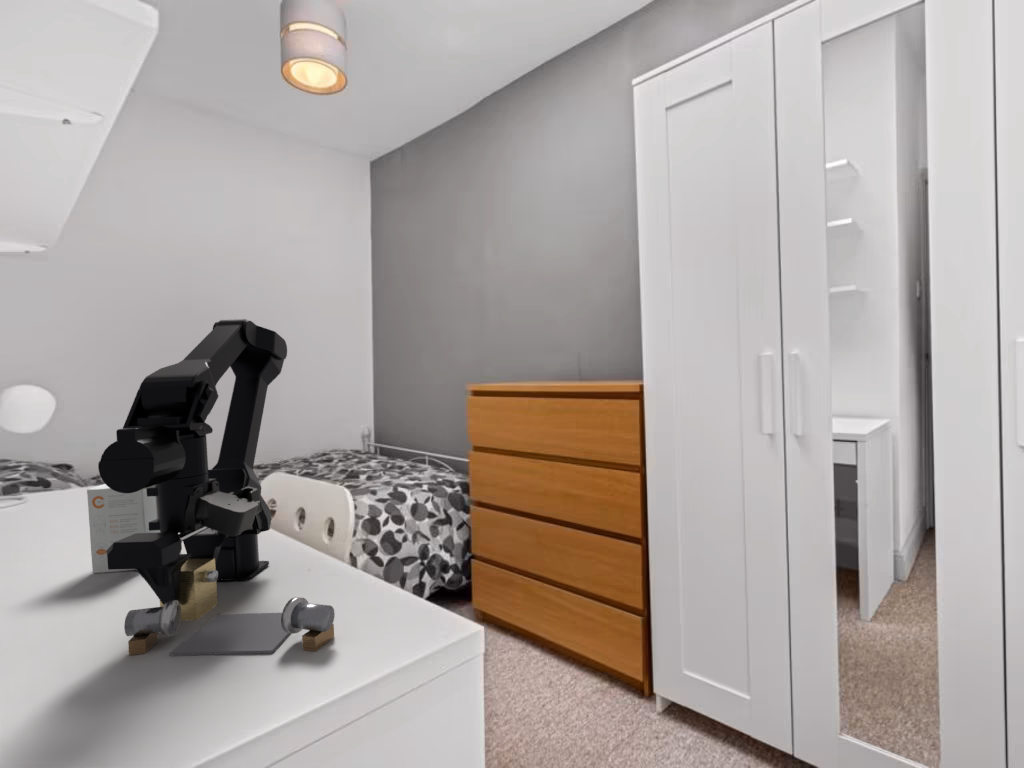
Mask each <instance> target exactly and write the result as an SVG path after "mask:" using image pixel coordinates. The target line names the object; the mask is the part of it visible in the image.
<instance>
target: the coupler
mask: <svg viewBox="0 0 1024 768" xmlns="http://www.w3.org/2000/svg"><path fill="white" fill-rule="evenodd" d="M217 578H218V571H217V570H216V567H215V558H205V559H188V560H187V561H186V562H185V563H184V564H183V566H182V567H181V582H180V602H179V603H180V606H181V621H197V620H199V619H200V618H202V617H203V616H204V615H205V614H207V613H208V612H209V611H211V610H212V609H214V608H215V607H216V606H217V605H218V590H217V589H218V588H217V581H218V580H217ZM216 580H217V581H216ZM163 606H164V605H163V604H162V602H161V601H160V600H159V607H163Z"/></svg>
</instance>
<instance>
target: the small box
mask: <svg viewBox="0 0 1024 768" xmlns="http://www.w3.org/2000/svg"><path fill="white" fill-rule="evenodd" d="M154 486H155V485H154ZM151 487H152V486H151ZM148 488H149V487H148ZM86 495H87V508H88V522H89V523H88V524H89V535H90V536H89V537H90V538H89V539H90V552H91V553H90V555H91V562H92V563H91V566H92V567H91V568H92V573H93V574H101V573H113V572H127V571H128V572H129V571H136V570H135V569H111V570H108V568H107V557H106V551H107V550H108V548H109V547H110V546H111V545H112V544H113V543H114V542H116V541H119V540H121V539H124V538H126V537H128V536H131V535H133V534H135V533H160V530H152V531H149V522H151V521H153V520H156V519H157V509H156V496H149V497H147V488H145V489H143V490H140V491H137V492H133V493H120V492H117V491H114V490H112V489H111V488H109V487H108V486H107V485H106V484H105V483H104V484H100V485H98V486H94V487H91V488H87V490H86Z"/></svg>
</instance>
